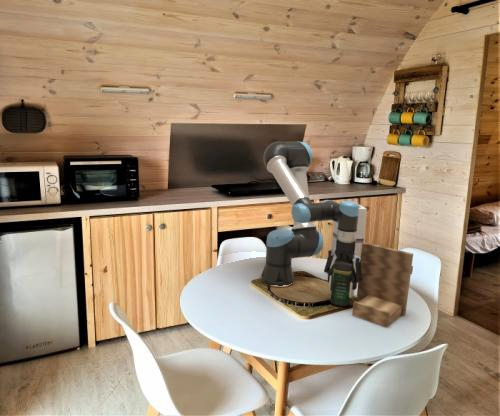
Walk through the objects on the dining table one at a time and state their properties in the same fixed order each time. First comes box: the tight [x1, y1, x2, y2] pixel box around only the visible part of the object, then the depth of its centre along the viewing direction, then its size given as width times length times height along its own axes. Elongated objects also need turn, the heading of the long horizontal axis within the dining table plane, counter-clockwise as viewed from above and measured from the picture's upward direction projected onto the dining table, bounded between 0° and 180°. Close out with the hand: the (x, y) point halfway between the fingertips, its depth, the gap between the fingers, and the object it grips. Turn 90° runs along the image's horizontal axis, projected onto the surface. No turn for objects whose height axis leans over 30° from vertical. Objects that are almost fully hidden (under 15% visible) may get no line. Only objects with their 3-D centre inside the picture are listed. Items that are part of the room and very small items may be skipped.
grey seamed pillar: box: [330, 204, 368, 284], centre depth 204 cm, size 11×11×35 cm
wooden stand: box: [351, 241, 414, 328], centre depth 170 cm, size 20×17×25 cm
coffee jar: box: [329, 260, 354, 307], centre depth 179 cm, size 10×8×19 cm
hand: (340, 293), depth 180 cm, fingers closed on coffee jar, 9 cm apart
